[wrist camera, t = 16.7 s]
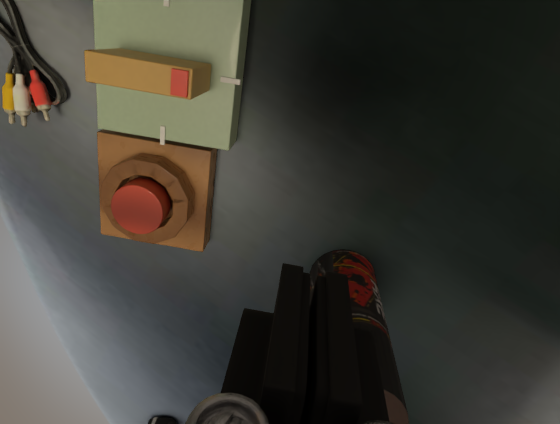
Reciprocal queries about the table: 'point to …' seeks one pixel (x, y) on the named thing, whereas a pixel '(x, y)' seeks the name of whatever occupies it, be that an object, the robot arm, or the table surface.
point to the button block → (169, 174)
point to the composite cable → (26, 74)
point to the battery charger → (162, 420)
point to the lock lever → (147, 72)
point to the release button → (140, 205)
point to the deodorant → (367, 319)
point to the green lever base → (184, 45)
